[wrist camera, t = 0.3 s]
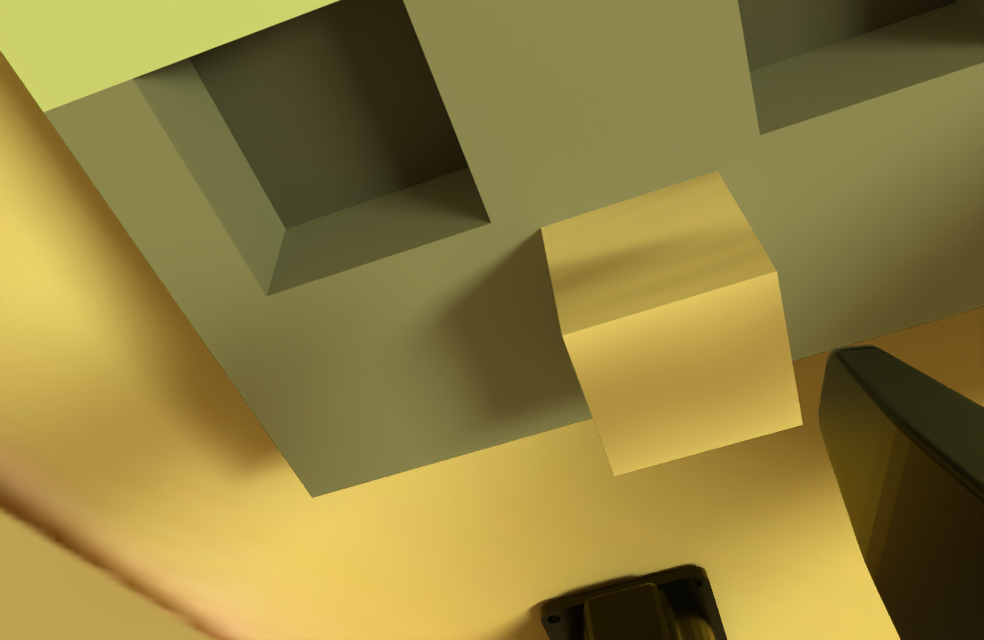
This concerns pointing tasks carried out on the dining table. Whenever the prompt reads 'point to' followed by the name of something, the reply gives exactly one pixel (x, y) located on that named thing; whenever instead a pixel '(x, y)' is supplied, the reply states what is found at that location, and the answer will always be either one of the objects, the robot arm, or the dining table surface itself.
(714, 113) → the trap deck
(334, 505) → the dining table surface
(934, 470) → the robot arm
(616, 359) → the maple block
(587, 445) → the dining table surface
